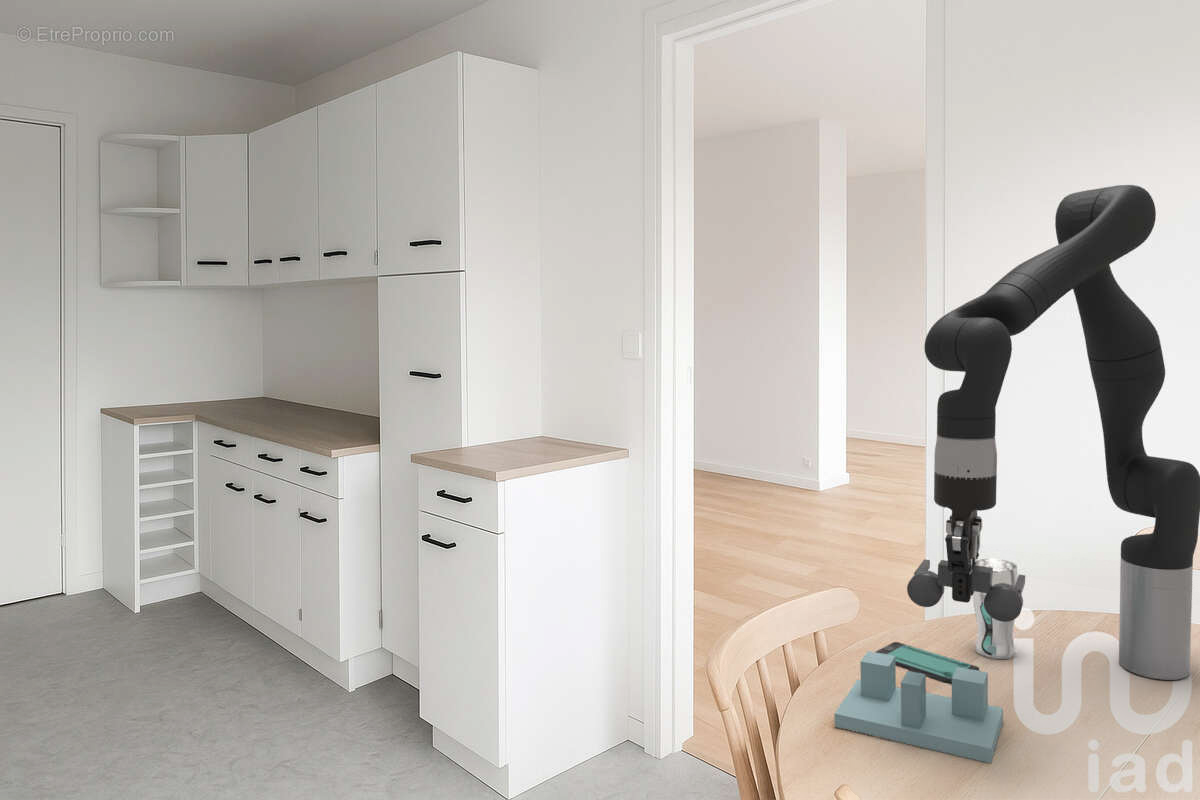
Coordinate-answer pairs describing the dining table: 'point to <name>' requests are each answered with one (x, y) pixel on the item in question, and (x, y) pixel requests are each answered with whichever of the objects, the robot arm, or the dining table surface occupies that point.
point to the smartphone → (924, 661)
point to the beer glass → (991, 632)
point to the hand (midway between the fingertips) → (963, 597)
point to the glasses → (998, 601)
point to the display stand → (922, 710)
